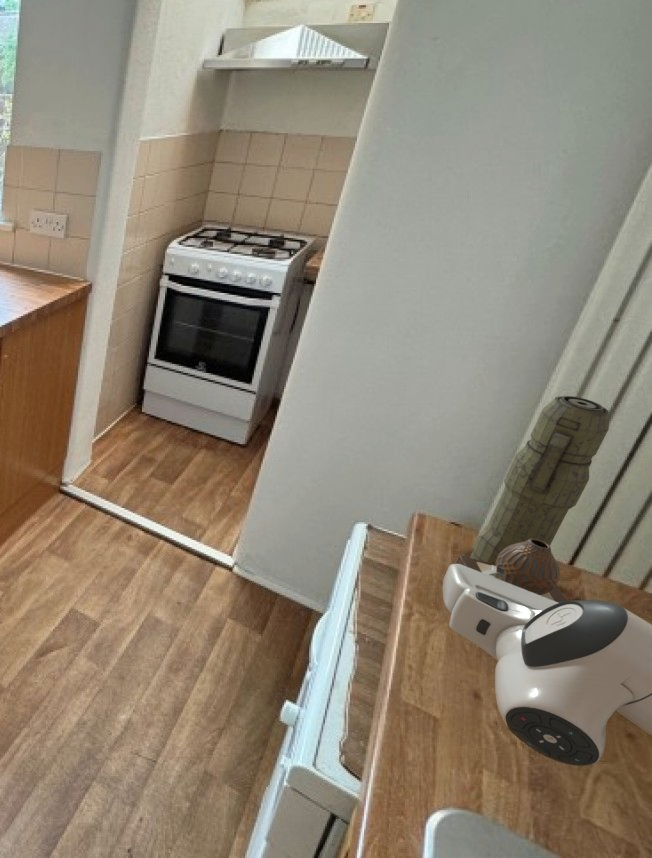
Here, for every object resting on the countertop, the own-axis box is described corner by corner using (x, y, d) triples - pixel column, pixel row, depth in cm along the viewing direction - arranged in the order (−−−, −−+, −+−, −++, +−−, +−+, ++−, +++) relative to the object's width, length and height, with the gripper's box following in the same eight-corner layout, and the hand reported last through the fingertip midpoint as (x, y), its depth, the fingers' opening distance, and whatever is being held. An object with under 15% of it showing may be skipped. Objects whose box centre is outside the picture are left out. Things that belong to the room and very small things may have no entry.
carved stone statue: (461, 573, 108) (539, 403, 96) (473, 544, 116) (547, 382, 103) (529, 603, 102) (622, 426, 89) (537, 570, 109) (624, 402, 97)
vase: (514, 569, 100) (535, 527, 96) (560, 602, 93) (585, 558, 90) (477, 571, 99) (497, 529, 96) (521, 605, 93) (544, 560, 89)
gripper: (685, 683, 68) (664, 613, 77) (449, 586, 81) (456, 536, 90) (658, 721, 70) (641, 648, 80) (434, 621, 83) (442, 568, 93)
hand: (541, 588), depth 85 cm, fingers open, 8 cm apart
